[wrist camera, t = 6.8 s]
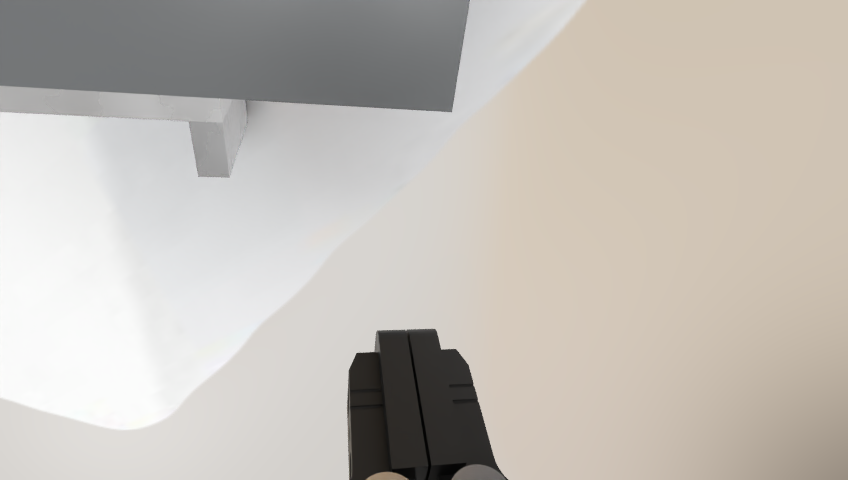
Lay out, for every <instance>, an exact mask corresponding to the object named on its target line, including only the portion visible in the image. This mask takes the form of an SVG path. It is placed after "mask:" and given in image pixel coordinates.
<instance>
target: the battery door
mask: <svg viewBox="0 0 848 480" xmlns="http://www.w3.org/2000/svg"><path fill="white" fill-rule="evenodd" d="M0 112H15V113H35V114H55V115H76V116H96V117H116V118H136V119H156V120H176V121H189V124H190V130H191V136H192V142H193V148H194V154H195V159H196V165H197V171H198V177H230V174H231V171H232V168H233V165H234V162H235V159H236V156H237V153H238V150H239V147H240V144H241V141H242V138H243V135H244V132H245V129H246V126H247V123H248V120H247V109H246V100H238V99H221V98H203V97H186V96H169V95H152V94H135V93H118V92H101V91H84V90H67V89H50V88H32V87H15V86H0Z"/></svg>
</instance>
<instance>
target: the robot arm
mask: <svg viewBox="0 0 848 480" xmlns="http://www.w3.org/2000/svg"><path fill="white" fill-rule="evenodd" d="M347 414H348V415H347V418H348V451H349V480H508V479H507V478H506V477H505V476H504V475H503V474H502V473H501V471H500V470H499V468H498V466H497V464H496V462H495V459H494V456H493V452H492V449H491V445H490V441H489V438H488V435H487V431H486V427H485V423H484V420H483V416H482V412H481V409H480V405H479V403H478V398H477V395H476V391H475V388H474V386H473V380H472V376H471V373H470V369H469V365H468V364H467V363H466V361H465V360H464V359H463V358H462V356H461V355H460V354H459V352H458V351H457V350H456V349H448V350H441V348H440V343H439V339H438V335H437V331H436V330H435V329H417V330H416V329H414V330H407V331H405V330H383V331H377V332H376V341H375V352H370V353H357V354H356V356H355V358H354V360H353V363H352V365H351V367H350V369H349V379H348V401H347Z"/></svg>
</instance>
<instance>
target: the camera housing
mask: <svg viewBox="0 0 848 480" xmlns="http://www.w3.org/2000/svg"><path fill="white" fill-rule="evenodd" d="M469 1H470V0H0V86H15V87H32V88H50V89H67V90H84V91H101V92H118V93H135V94H152V95H169V96H186V97H203V98H221V99H238V100H255V101H272V102H289V103H306V104H323V105H340V106H357V107H374V108H391V109H409V110H426V111H443V112H452V107H453V101H454V95H455V89H456V82H457V76H458V70H459V64H460V57H461V51H462V45H463V39H464V32H465V26H466V20H467V14H468V7H469Z"/></svg>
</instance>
